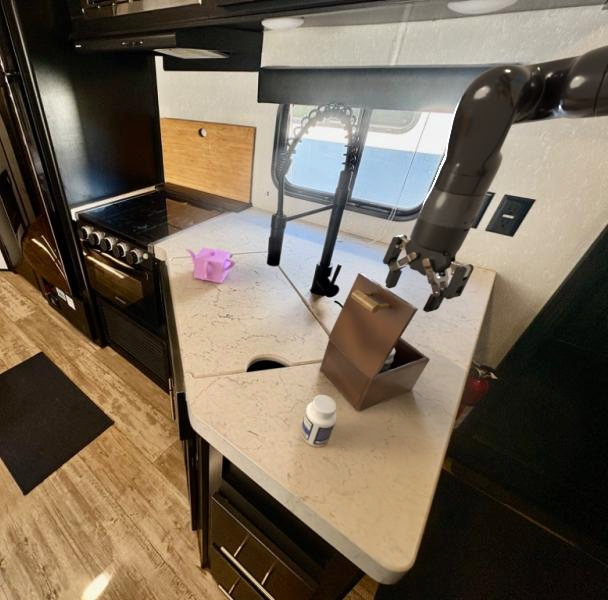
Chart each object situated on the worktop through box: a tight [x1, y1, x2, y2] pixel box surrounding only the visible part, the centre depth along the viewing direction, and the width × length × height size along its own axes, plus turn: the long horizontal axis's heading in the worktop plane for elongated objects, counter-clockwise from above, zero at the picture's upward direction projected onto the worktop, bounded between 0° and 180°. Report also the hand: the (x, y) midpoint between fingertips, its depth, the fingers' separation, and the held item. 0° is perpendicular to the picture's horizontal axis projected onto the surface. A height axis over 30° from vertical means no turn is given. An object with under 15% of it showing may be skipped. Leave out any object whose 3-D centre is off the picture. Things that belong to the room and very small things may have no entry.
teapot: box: [185, 246, 236, 284], centre depth 108 cm, size 18×14×10 cm
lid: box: [327, 272, 419, 379], centre depth 59 cm, size 16×13×5 cm
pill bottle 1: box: [300, 394, 337, 448], centre depth 58 cm, size 5×5×10 cm
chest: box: [319, 336, 431, 413], centre depth 70 cm, size 16×13×10 cm
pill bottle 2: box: [377, 348, 396, 375], centre depth 70 cm, size 5×5×8 cm
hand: (408, 298), depth 60 cm, fingers open, 8 cm apart
